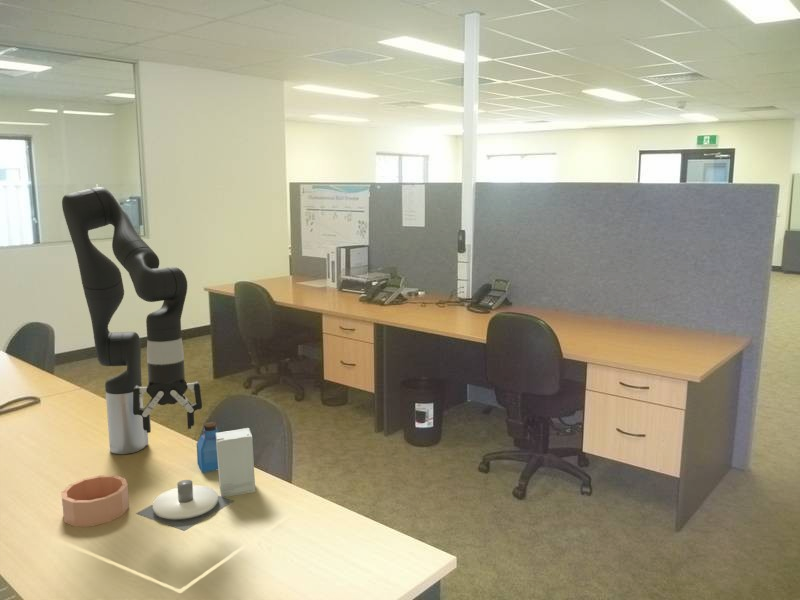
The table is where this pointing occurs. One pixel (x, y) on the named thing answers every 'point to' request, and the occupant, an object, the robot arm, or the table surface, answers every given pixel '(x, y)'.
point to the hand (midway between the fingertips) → (169, 429)
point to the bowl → (95, 500)
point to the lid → (185, 501)
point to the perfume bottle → (207, 448)
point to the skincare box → (235, 462)
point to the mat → (187, 522)
